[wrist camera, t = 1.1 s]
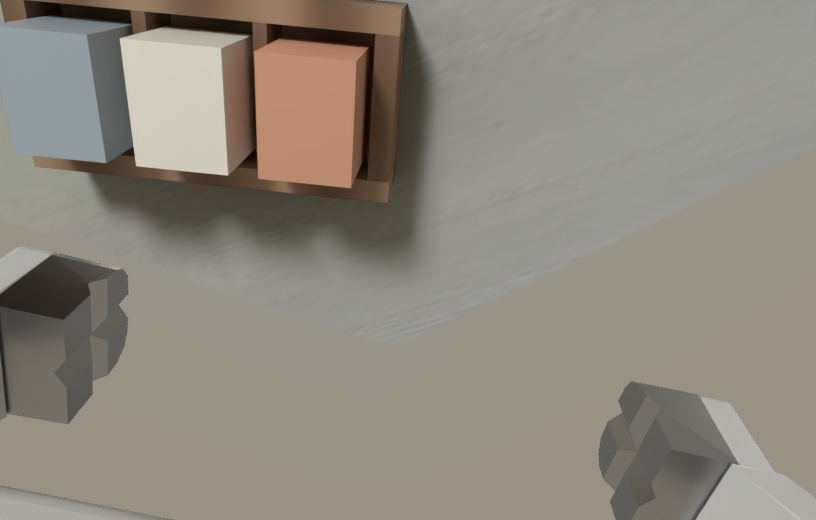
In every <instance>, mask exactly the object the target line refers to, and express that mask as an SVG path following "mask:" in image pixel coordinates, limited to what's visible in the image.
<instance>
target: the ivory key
mask: <svg viewBox="0 0 816 520" xmlns="http://www.w3.org/2000/svg"><path fill="white" fill-rule="evenodd" d="M120 45H121V53H122V61H123V68H124V76H125V84H126V92H127V99H128V107H129V115H130V123H131V131H132V138H133V146H134V154H135V162H136V166H139V167H149V168H158V169H168V170H178V171H188V172H197V173H207V174H217V175H227V176H228V175H229V174H230V173H231V172H232V171H233V170H234V169H235V168H236V167H237V166H238V165H239V164H240V163H241V162H242V161H243V160H244V159H245V158H246V157H247V156H248V155H249V154H250V153H251V152H252V151H253V150H254V149H255V148H256V118H255V88H254V58H253V34H243V33H232V32H222V31H212V30H202V29H191V28H181V27H171V26H165V27H161V28H157V29H154V30H150V31H146V32H142V33H138V34H134V35H130V36H127V37H123V38H120Z"/></svg>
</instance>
